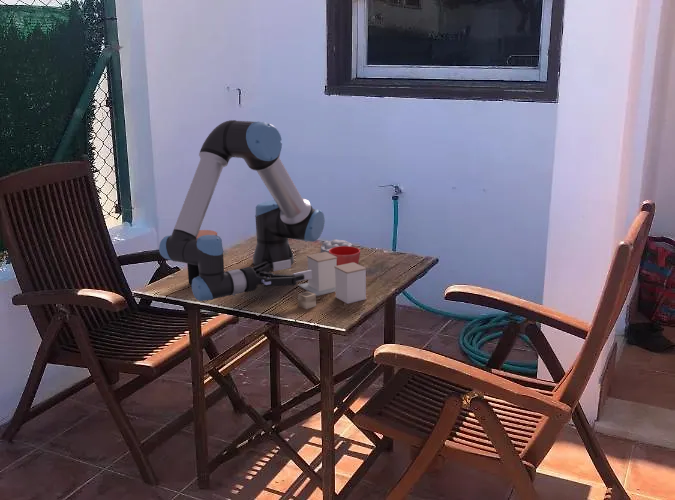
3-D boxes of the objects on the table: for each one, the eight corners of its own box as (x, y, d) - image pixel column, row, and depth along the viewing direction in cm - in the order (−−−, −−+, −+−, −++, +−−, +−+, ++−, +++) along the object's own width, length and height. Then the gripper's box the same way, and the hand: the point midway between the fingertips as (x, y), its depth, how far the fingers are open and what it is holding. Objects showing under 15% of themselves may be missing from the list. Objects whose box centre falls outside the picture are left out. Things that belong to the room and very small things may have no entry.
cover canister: (307, 285, 245) (306, 255, 242) (326, 281, 249) (325, 251, 246) (318, 291, 239) (318, 260, 236) (337, 287, 243) (337, 257, 240)
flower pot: (357, 282, 249) (357, 255, 246) (326, 280, 251) (325, 254, 248) (362, 272, 258) (362, 246, 256) (332, 271, 261) (332, 245, 258)
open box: (298, 306, 228) (297, 293, 227) (307, 302, 231) (307, 290, 230) (306, 309, 225) (306, 297, 224) (316, 306, 228) (315, 293, 227)
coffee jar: (226, 281, 252) (223, 231, 246) (211, 291, 242) (207, 239, 237) (198, 278, 255) (195, 228, 250) (183, 288, 245) (178, 236, 240)
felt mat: (298, 285, 246) (298, 284, 246) (328, 279, 252) (328, 278, 252) (316, 295, 236) (316, 294, 236) (347, 288, 243) (347, 287, 242)
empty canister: (334, 297, 235) (334, 266, 232) (353, 292, 239) (353, 262, 236) (347, 303, 229) (346, 272, 226) (366, 299, 233) (366, 268, 230)
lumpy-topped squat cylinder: (355, 261, 272) (355, 239, 269) (341, 271, 260) (340, 248, 258) (330, 258, 276) (329, 236, 273) (314, 268, 264) (314, 245, 262)
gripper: (225, 281, 238) (282, 269, 249) (260, 303, 218) (320, 290, 229) (224, 259, 236) (282, 248, 247) (259, 280, 216) (320, 267, 227)
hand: (300, 268), depth 238 cm, fingers open, 13 cm apart
